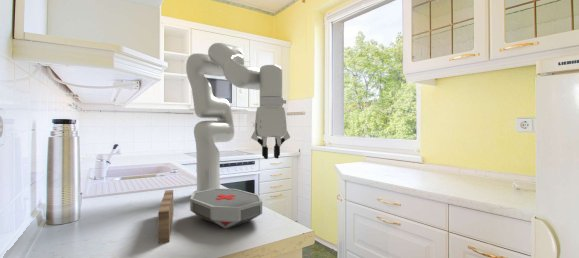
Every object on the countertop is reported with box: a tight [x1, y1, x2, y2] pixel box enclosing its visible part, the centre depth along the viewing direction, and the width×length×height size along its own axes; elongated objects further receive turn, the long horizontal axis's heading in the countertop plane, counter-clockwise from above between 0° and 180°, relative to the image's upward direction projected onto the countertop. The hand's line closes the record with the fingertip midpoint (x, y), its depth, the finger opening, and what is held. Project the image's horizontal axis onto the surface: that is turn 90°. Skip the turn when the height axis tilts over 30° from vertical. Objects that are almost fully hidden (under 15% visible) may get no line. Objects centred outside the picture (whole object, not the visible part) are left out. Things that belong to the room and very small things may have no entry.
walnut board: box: [157, 189, 174, 244], centre depth 87 cm, size 25×2×8 cm, turn 19°
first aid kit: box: [189, 187, 263, 229], centre depth 93 cm, size 18×8×25 cm
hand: (271, 157), depth 97 cm, fingers open, 3 cm apart
